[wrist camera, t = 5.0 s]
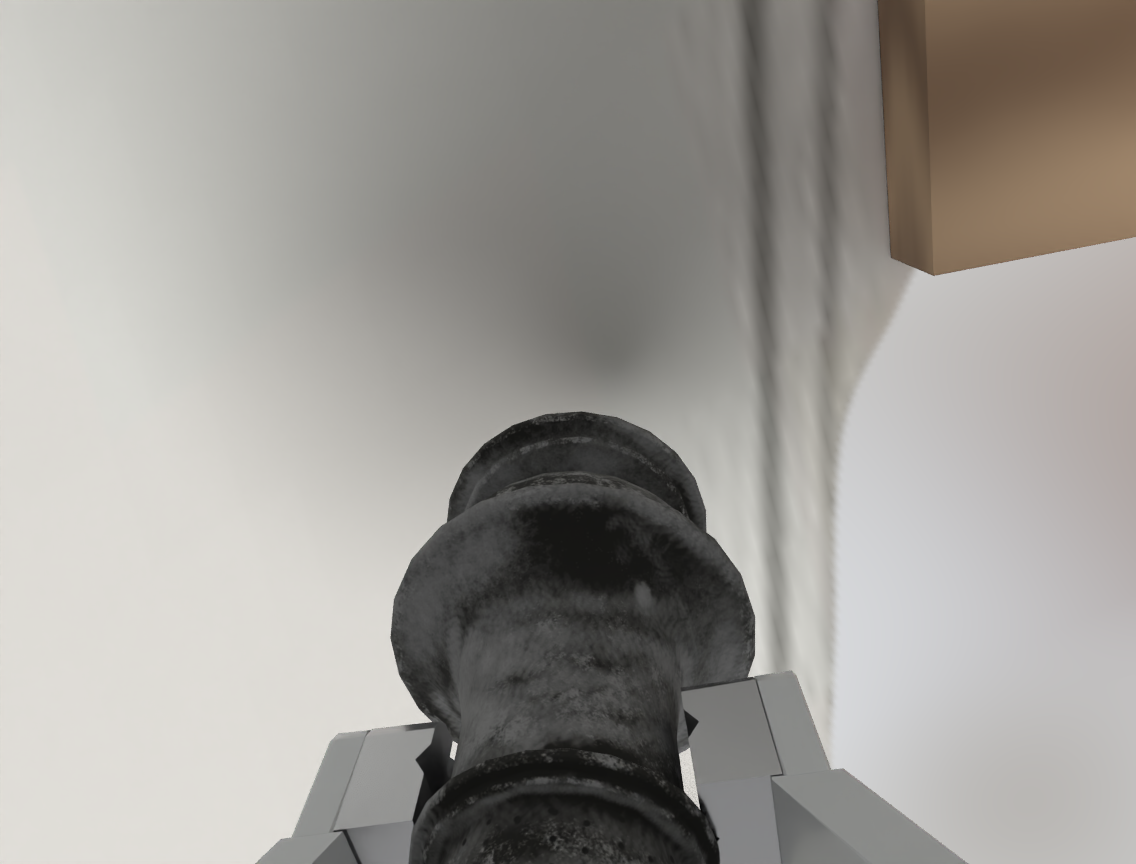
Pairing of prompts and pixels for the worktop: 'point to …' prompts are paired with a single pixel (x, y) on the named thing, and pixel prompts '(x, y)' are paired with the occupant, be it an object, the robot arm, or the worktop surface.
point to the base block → (1007, 128)
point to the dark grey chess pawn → (568, 648)
